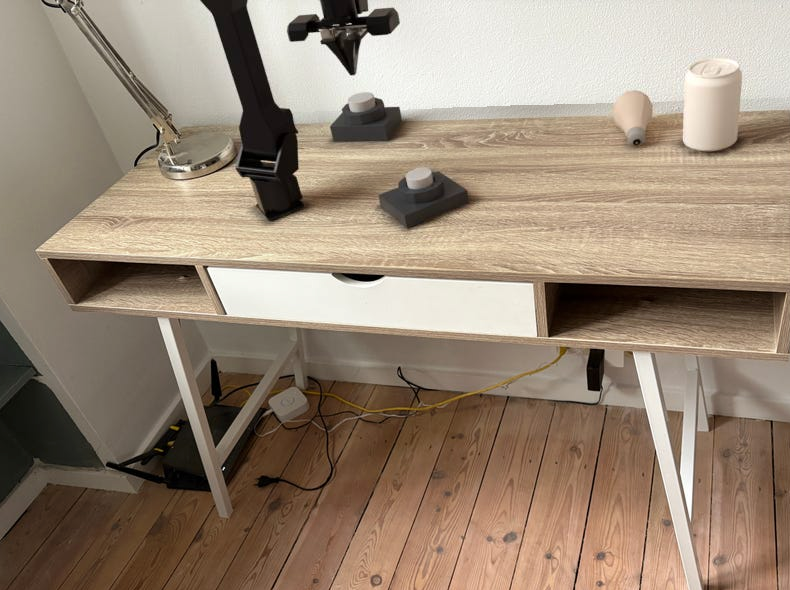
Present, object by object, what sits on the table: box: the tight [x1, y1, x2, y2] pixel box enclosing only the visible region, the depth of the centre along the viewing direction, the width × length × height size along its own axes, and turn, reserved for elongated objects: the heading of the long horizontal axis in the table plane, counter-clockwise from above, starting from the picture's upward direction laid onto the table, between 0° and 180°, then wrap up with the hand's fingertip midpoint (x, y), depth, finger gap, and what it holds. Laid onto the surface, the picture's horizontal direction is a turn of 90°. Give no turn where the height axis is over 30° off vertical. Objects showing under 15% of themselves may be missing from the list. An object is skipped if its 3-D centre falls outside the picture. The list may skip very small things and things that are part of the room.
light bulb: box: [611, 90, 654, 148], centre depth 133 cm, size 7×7×11 cm
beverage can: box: [682, 57, 743, 153], centre depth 125 cm, size 8×8×12 cm
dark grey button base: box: [377, 170, 470, 229], centre depth 126 cm, size 11×9×4 cm
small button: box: [405, 167, 433, 189], centre depth 125 cm, size 4×4×2 cm
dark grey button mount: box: [329, 96, 403, 142], centre depth 152 cm, size 11×8×5 cm
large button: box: [347, 91, 376, 112], centre depth 150 cm, size 5×5×2 cm
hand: (353, 74), depth 144 cm, fingers closed
